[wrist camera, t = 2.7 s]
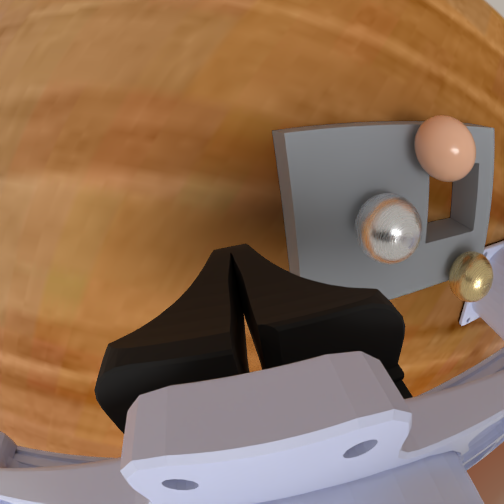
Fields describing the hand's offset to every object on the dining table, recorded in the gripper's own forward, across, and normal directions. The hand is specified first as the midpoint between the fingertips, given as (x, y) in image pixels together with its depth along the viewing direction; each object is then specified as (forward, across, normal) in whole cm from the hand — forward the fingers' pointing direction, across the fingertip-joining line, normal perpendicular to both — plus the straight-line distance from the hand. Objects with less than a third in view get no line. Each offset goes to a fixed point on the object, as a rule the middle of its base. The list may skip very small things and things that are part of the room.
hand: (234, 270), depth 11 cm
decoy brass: (+1, -14, +4) cm, 15 cm away
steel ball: (+1, -7, 0) cm, 7 cm away
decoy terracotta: (+1, -11, -4) cm, 11 cm away
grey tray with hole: (+5, -10, 0) cm, 11 cm away
